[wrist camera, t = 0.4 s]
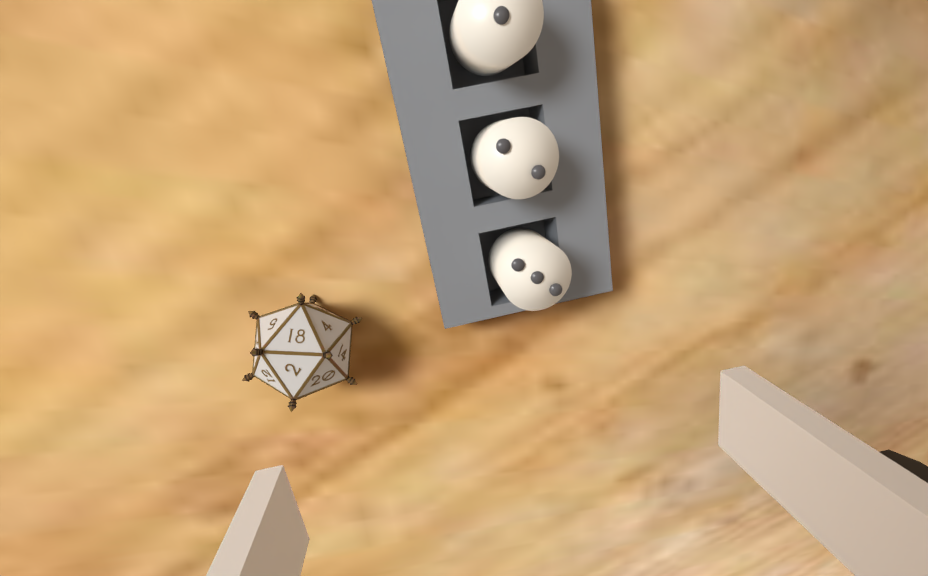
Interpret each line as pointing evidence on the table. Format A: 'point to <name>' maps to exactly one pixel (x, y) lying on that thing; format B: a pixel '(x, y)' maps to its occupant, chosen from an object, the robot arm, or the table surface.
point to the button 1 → (494, 33)
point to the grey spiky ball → (301, 349)
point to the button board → (461, 119)
